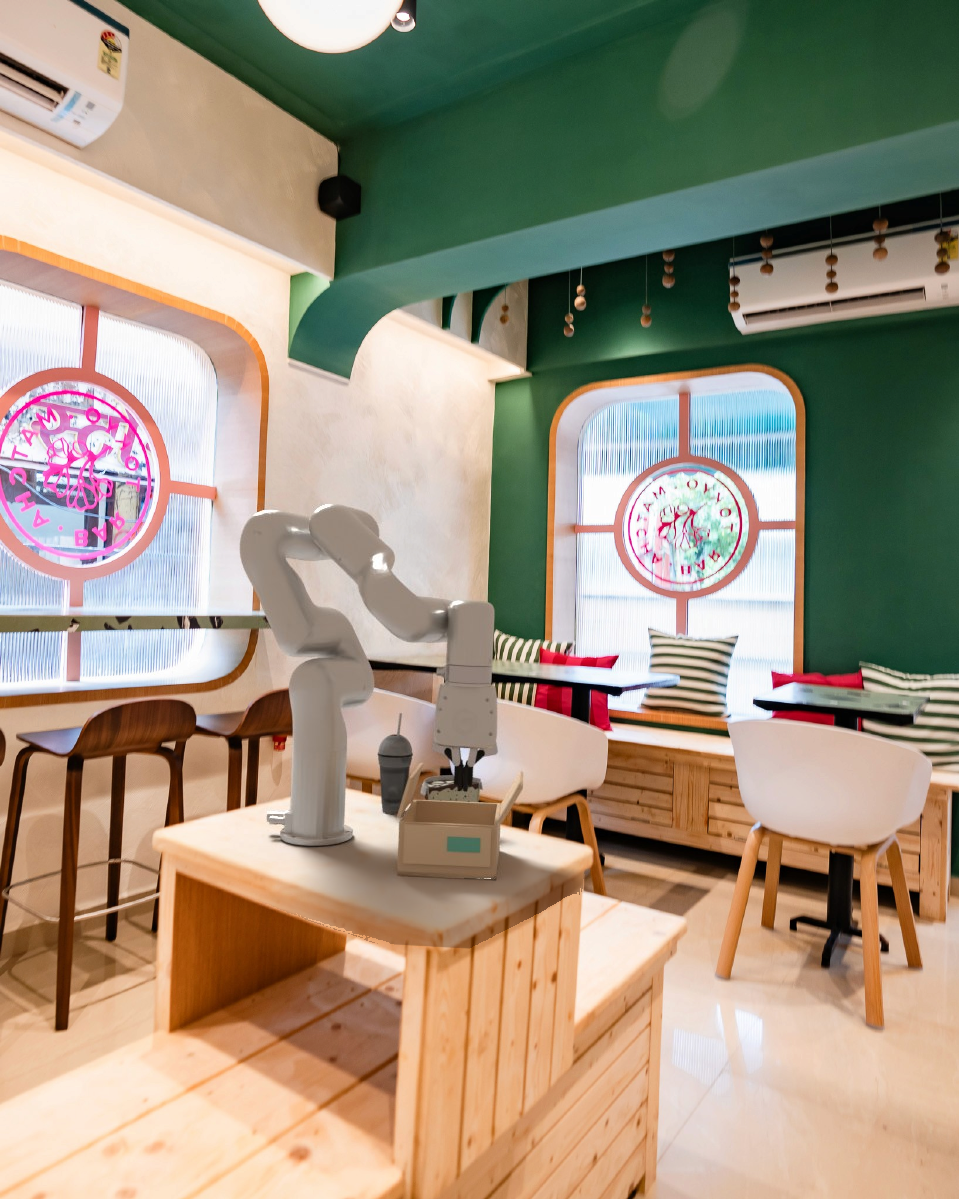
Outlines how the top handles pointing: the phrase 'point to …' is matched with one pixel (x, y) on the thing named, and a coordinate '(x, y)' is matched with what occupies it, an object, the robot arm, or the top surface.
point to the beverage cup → (394, 769)
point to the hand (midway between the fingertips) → (462, 789)
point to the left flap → (409, 790)
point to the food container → (449, 789)
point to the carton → (449, 839)
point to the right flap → (511, 797)
